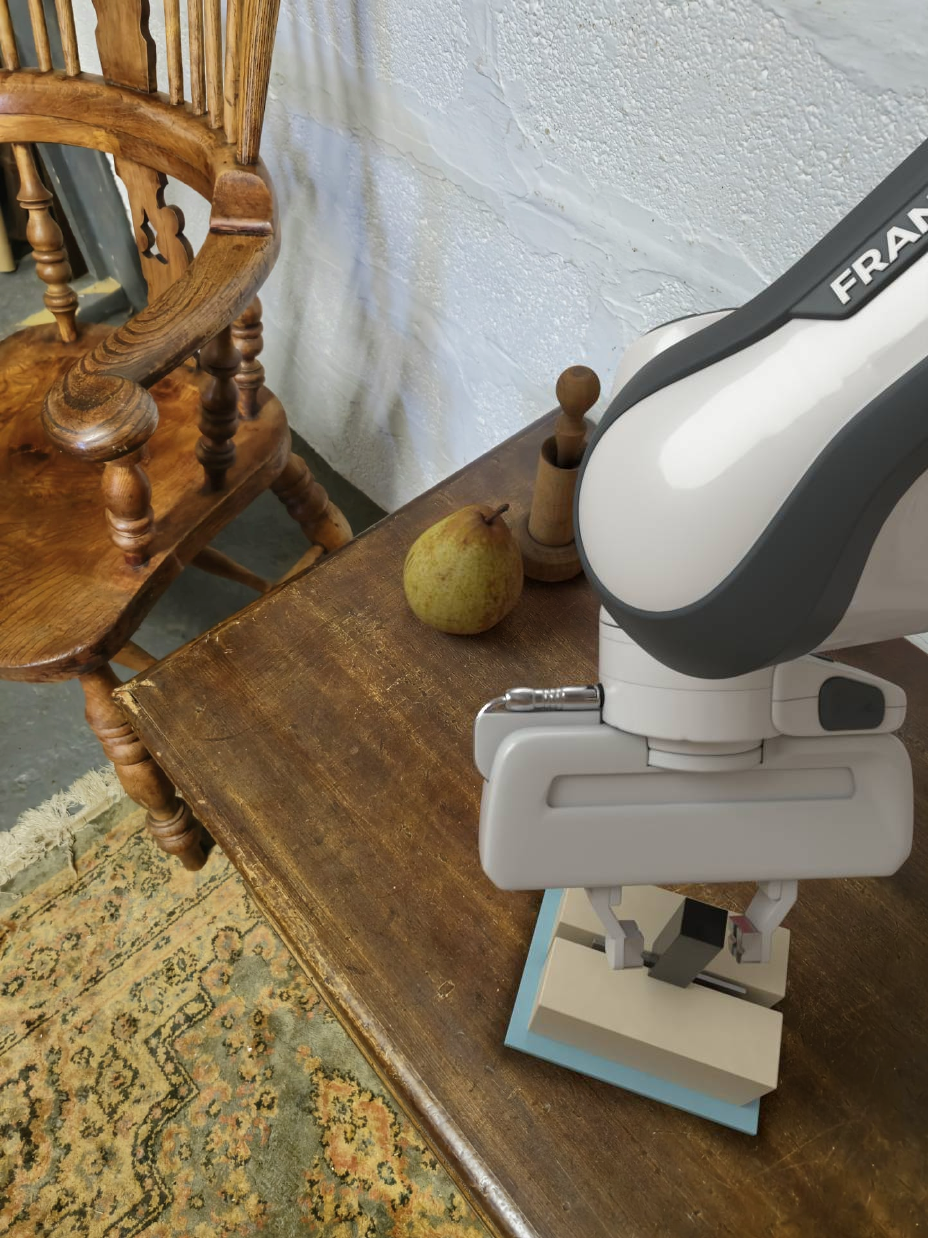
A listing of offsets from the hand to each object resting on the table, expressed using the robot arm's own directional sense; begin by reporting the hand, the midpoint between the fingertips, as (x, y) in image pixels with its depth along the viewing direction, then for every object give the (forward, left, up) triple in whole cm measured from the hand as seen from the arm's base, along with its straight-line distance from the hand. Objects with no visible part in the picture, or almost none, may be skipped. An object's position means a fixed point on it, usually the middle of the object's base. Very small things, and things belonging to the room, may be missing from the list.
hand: (686, 961), depth 41 cm
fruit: (+19, -25, -10) cm, 33 cm away
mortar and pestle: (+14, -33, -10) cm, 37 cm away
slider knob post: (0, -1, -9) cm, 9 cm away
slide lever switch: (0, -1, -10) cm, 10 cm away
